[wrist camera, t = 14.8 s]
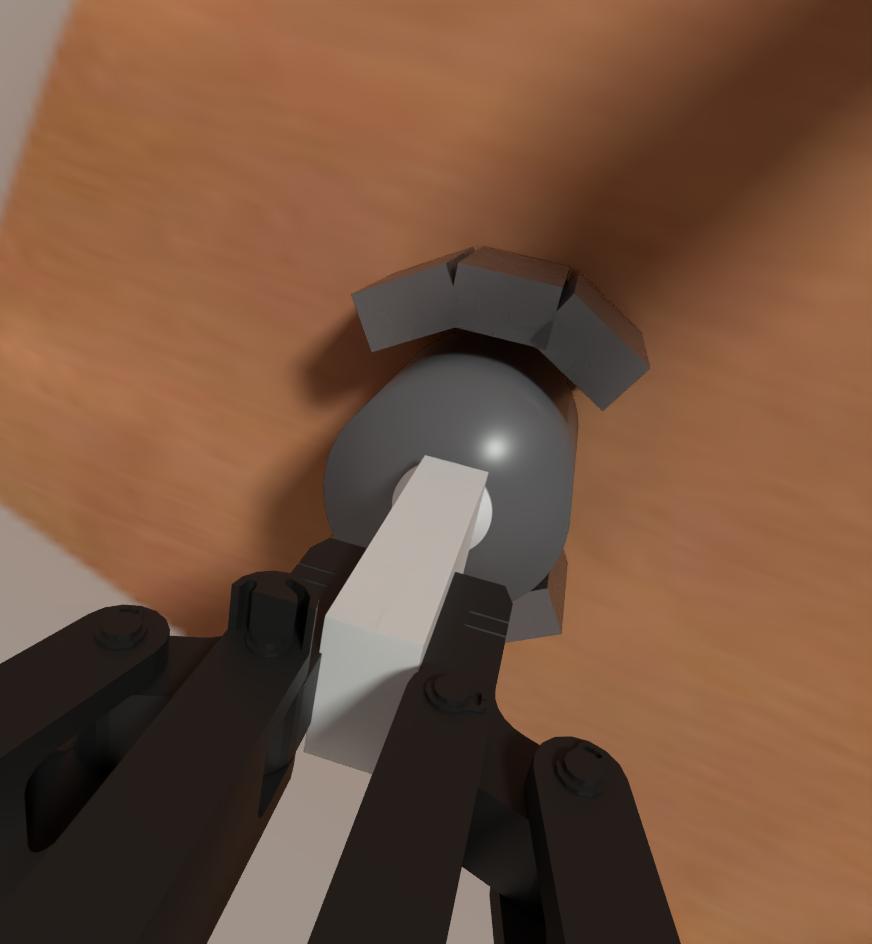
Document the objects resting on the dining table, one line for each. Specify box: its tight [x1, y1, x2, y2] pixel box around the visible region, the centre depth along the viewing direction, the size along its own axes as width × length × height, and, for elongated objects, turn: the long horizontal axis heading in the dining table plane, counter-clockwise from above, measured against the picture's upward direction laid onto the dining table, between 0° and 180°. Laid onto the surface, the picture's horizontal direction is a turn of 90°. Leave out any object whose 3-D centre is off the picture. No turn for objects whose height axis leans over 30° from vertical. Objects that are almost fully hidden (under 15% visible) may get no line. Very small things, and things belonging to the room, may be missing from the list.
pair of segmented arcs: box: [330, 246, 650, 643], centre depth 21 cm, size 10×7×4 cm
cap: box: [323, 331, 578, 602], centre depth 20 cm, size 6×6×6 cm
